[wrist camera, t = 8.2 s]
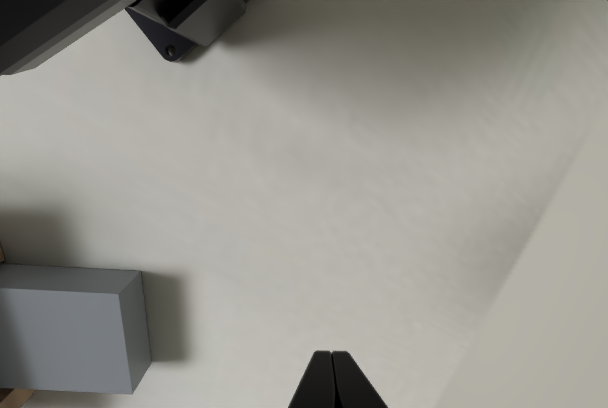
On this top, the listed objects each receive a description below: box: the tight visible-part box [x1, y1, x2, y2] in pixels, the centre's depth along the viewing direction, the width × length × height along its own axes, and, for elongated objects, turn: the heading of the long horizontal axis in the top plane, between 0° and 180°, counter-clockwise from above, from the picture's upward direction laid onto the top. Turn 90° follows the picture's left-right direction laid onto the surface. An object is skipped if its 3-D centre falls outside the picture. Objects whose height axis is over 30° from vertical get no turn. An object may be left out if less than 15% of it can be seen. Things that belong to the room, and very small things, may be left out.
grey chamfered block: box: [0, 264, 151, 394], centre depth 20 cm, size 16×7×2 cm, turn 87°
